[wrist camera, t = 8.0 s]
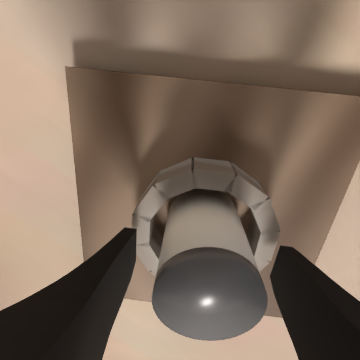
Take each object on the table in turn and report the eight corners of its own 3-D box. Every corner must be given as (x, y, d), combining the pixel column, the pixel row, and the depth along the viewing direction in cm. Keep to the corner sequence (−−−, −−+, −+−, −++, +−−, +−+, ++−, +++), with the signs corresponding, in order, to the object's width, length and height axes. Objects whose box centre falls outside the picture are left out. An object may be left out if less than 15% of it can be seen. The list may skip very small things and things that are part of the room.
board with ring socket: (368, 98, 12) (426, 100, 9) (285, 304, 18) (303, 346, 15) (77, 68, 12) (39, 61, 9) (93, 281, 18) (74, 318, 15)
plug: (243, 190, 13) (281, 265, 7) (231, 249, 15) (254, 346, 9) (170, 183, 13) (153, 252, 8) (166, 242, 15) (150, 334, 9)
